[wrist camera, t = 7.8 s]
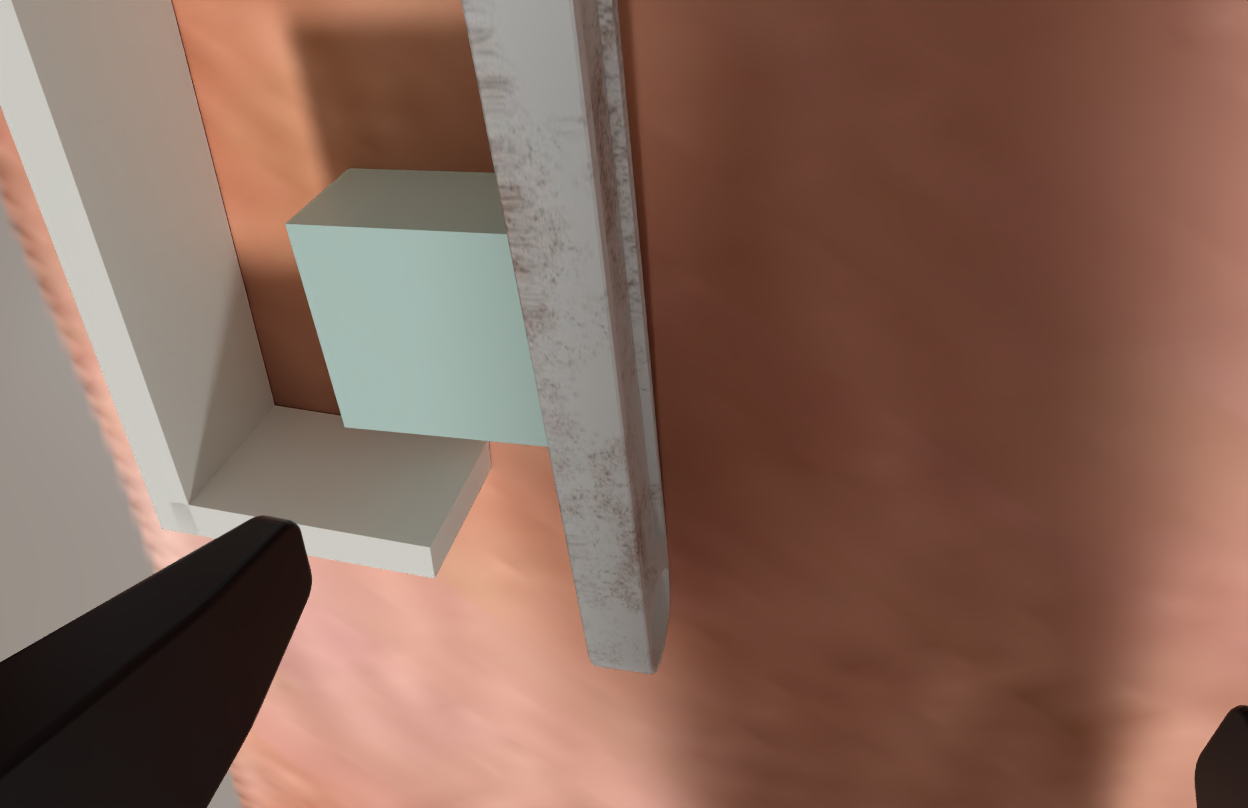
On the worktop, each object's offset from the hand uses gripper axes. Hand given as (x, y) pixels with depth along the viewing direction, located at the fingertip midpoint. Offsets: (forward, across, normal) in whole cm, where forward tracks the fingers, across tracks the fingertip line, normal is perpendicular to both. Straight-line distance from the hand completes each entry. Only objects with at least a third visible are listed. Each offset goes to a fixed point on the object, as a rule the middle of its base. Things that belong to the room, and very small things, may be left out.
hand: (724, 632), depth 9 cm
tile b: (+12, +7, +3) cm, 14 cm away
